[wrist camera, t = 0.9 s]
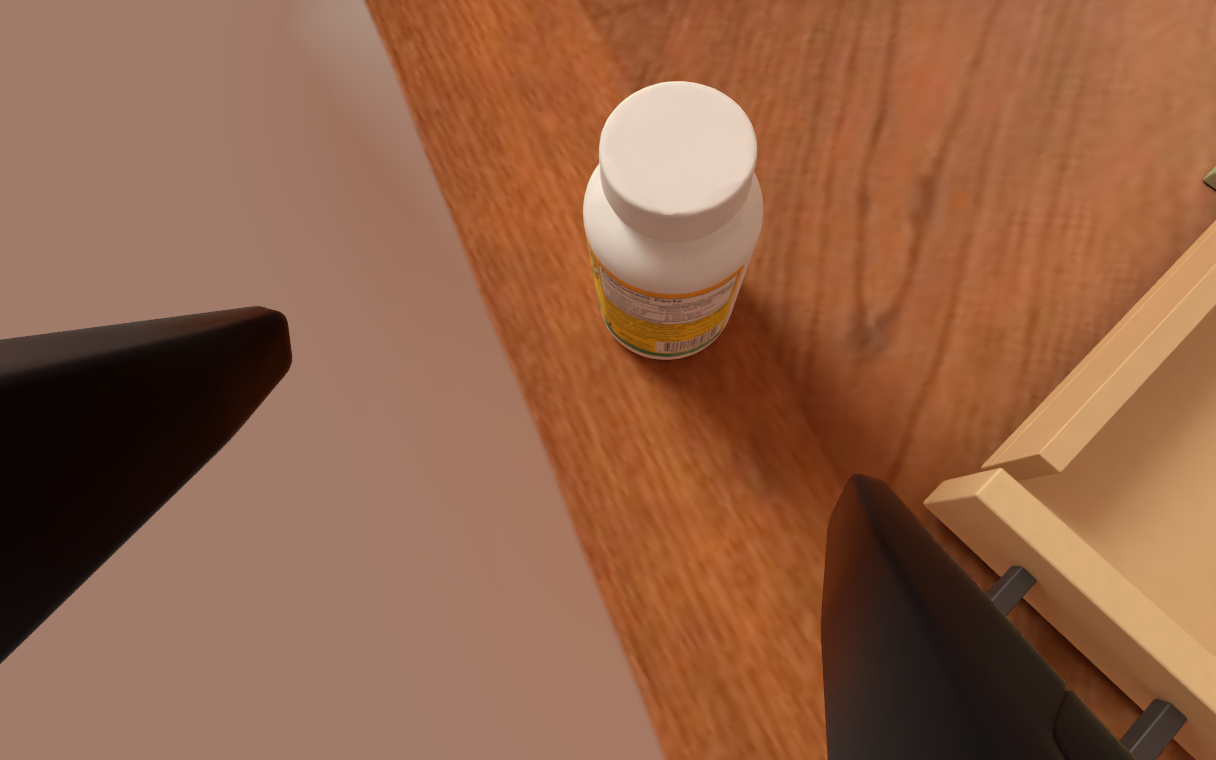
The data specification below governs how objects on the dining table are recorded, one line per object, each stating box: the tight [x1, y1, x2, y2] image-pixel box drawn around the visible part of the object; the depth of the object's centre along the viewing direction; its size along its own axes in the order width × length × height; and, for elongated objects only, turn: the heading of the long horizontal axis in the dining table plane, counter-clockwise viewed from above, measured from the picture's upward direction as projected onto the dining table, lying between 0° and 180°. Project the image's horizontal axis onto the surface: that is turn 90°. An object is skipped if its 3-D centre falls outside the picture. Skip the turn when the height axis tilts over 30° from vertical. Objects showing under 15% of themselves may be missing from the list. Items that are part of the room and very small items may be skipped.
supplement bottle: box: [583, 81, 763, 360], centre depth 20 cm, size 5×5×10 cm
